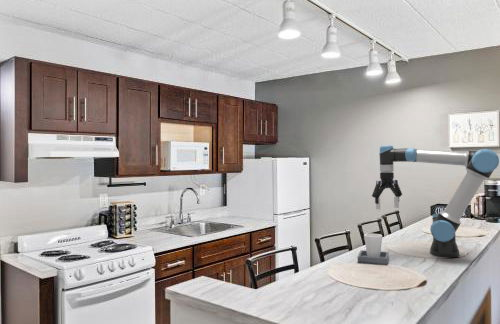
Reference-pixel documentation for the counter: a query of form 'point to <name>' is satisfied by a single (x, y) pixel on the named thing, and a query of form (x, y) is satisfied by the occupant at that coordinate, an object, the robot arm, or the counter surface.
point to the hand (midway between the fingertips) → (387, 208)
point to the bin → (373, 258)
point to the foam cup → (373, 244)
